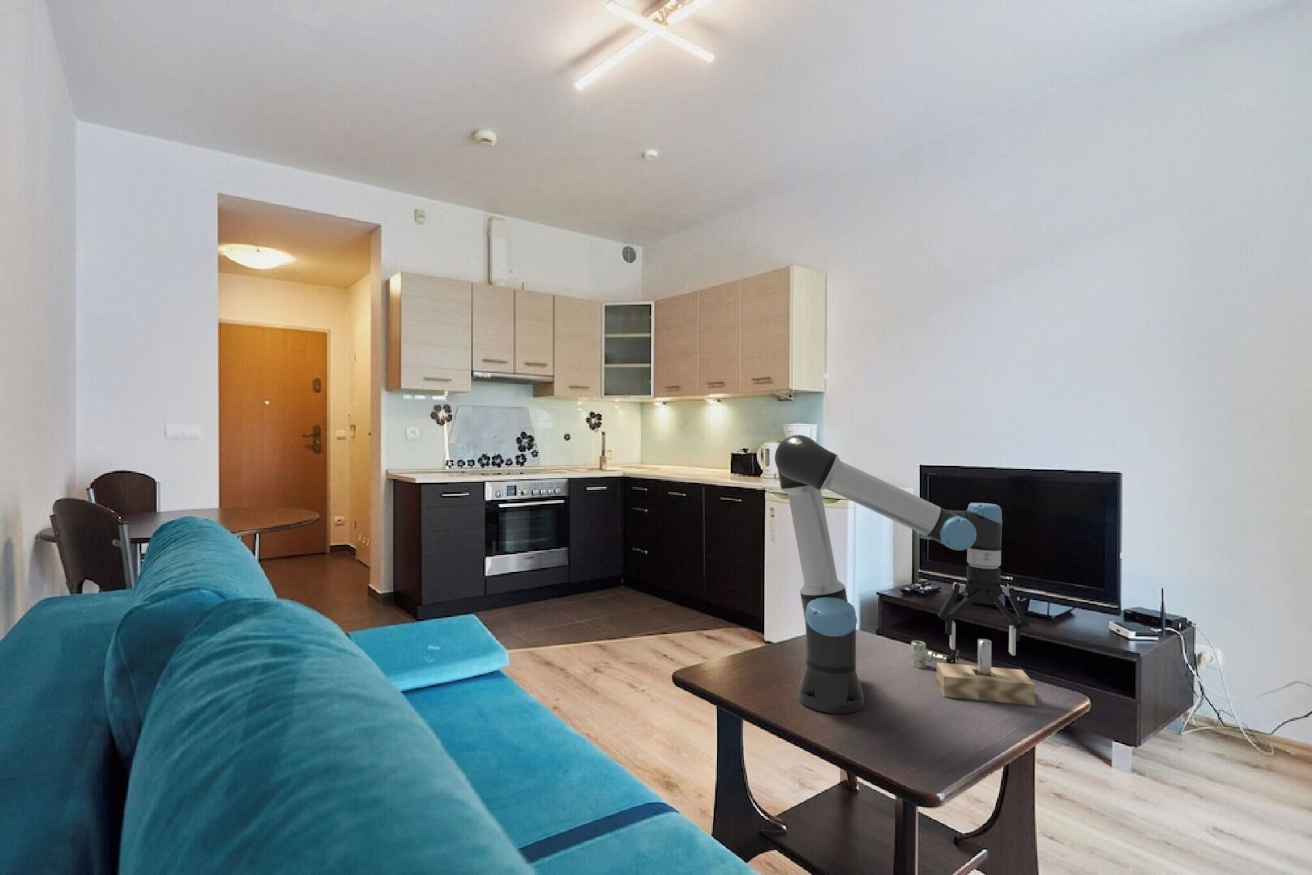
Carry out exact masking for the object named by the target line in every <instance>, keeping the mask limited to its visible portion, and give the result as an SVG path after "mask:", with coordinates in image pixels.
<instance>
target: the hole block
mask: <svg viewBox="0 0 1312 875" xmlns="http://www.w3.org/2000/svg"><path fill="white" fill-rule="evenodd" d="M936 683H937V685H938V687H939V689H940V692H941V693H942V695H943V697H944V698H954V699H964V700H965V699H966V700H972V701H973V700H974V701H985V702H993V703H994V702H996V703H1005V704H1006V703H1007V704H1016V705H1017V704H1018V705H1027V706H1036V684H1035V682H1034V681H1033V680H1032V679H1031V678H1030V677H1029V676H1028V675H1027V673H1026V672H1025V671H1024V670H1023V669H1017V668H1005V667H994V666H991V677H990V676H978V665H969V664H959V663H958V664H949V663H946V662H945V663H944V662H936Z"/></svg>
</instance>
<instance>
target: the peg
mask: <svg viewBox="0 0 1312 875" xmlns="http://www.w3.org/2000/svg"><path fill="white" fill-rule="evenodd" d="M977 666H978V676H990V677H991V667H992V640H991V639H986V638H978V639H977Z"/></svg>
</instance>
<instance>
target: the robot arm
mask: <svg viewBox="0 0 1312 875" xmlns="http://www.w3.org/2000/svg"><path fill="white" fill-rule="evenodd" d="M774 462H775V465H776V469H777V473H778V478H779V484H780V488H781V489H780V490H781V491H782V492H784V493H785V494H786V495H787V496H788V501H789V506H790V512H791V518H792V523H793V528H794V529H793V530H794V535H795V538H796V539H795V540H796V545H797V549H798V556H799V560H800V567H801V571H802V572H801V573H802V578H803V585H802V587H801V588H800V590H799V593H800V598H801V599H800V600H801V604H802V610H803V617H804V624H805V669H804V671H803V673H802V676H801V680H800V682H799V686H798V690H797V691H798V693H797V694H798V696H797V698H798V700H799V702H800V703H801V704H802V705H804V706H806V707H807V708H809V709H812V710H815V711H819V712H823V713H828V714H841V715H842V714H850V713H851V714H852V713H855V712H858V711H859V710H861V709H862V708H863V707H864V703H865V702H864V693H863V690H862V685H861V683H860V680H859V677H858V674H857V662H856V661H857V631H856V630H857V623H858V618H857V613H856V612H857V610H856V609H855V607H854V605H853V604H852V603H850V602H849V601H848V596H847V591H846V585H845V584H844V583H842V581H840V580H839V579H838V575H837V570H836V565H835V564H836V563H835V560H834V554H833V547H832V543H831V538H830V532H829V526H828V521H827V516H826V511H825V505H824V500H823V493H822V491H824V490H828V491H831V492H832V493H835V494H836V495H839V496H840V497H843V498H845V499H848V500H850V501H851V502H854V503H856V504H858V505H860V506H861V507H864V508H866V509H869V510H871V511H873V512H875V513H877V514H879V515H881V516H883V517H885V518H888V519H890V520H892V521H894V522H896V523H898V524H901V525H902V526H905V527H907V528H909V529H911V530H913V531H916V534H917V536H918V537H919V538H920V539H925V540H930V541H931V540H934V541H935V542H939V544H942V545H944V546H945V547H947V548H949V549H951V550H953V551H965V550H966V551H967V552H966V554H967V555H966V556H967V557H966V563H968V565H967V566H966V582H965V584H963V583H958V582H956V581H954V582H953V583H952V587H951V590H950V593H949V594H948V596H947V597H946V599H945V601H944V602H943V604H942V606H941V608H940V609H939V611H938V613H937V616H938V618H939V619H941V620H943V621H945V634H946V635H948V636H949V647H950V649H951V650H952V651H953V650H955V649H956V622H955V620H956V619H957V618H958V616H960V615H961V614H962V613H963V612H964V611H965V610H966V609H967V608H968V607H969V606H970V605H972V604H973V603H976V604H985V605H991V604H995V605H996V607H998V610H1000V611H1001V612H1002V613H1003V615H1004V616H1005V617H1006V618H1007V619H1008V620H1009V622H1010V623H1011V624H1012V625H1009V628H1008V629H1009V630H1008V653H1009V654H1010V655H1011V656H1016V651H1017V650H1016V649H1017V648H1016V647H1017V645H1016V642H1020V641H1021V630H1022V629H1023V628H1024V627H1025V628H1026V627H1027V628H1028V627H1029V626H1030V622H1029V620H1028V619H1027V617H1026V615H1025V612H1024V611H1023V609H1022V607H1021V605H1020V603H1019V601H1018V599H1017V597H1016V589H1015V588H1014V587H1012V585H1008V586H1005V587H1003V586H1001V584H1002V583H1001V574H1002V573H1001V572H1002V570H1001V568H1000V566H1001V565H1002V534H1003V533H1002V531H1003V530H1002V529H1003V528H1002V527H1003V516H1002V514H1003V513H1002V507H1000V506H999V505H998V504H994V503H986V502H985V503H984V502H970V503H969V504H968V506H967V509H966V510H954V509H953V510H951V509H945V508H943V507H941V506H940V505H939V506H938V505H936V504H934V503H933V502H930V501H928V500H925V499H924V498H922V497H919V496H918V495H915V494H912V493H910V492H909V491H907V490H904V489H902V488H900V487H897V486H895V485H893V484H891V483H889V482H886V481H884V479H881V478H878V477H877V476H874V475H872V474H869V473H867V472H865V471H863V470H861V469H859V468H858V467H857V468H856V467H855V466H853V465H850V464H849V463H846V462H843V461H841V459H840V458H839V455H838V454H836V453H834V452H832V451H830V450H828V449H827V448H825V447H823V446H822V445H820V444H819V443H818V442H816V441H815V440H814V439H813V438H811V437H808V436H806V435H802V434H798V435H797V434H795V435H794V434H793V435H791V436H787V437H786V438H784V439H782V441H781V442H780V443H779V444H778V446H777V448H776V450H775V452H774ZM963 590H965V591H966V593H967V594H966V595H965V596H964V597H963V599H962V600H960V602H959V603H957V604H956V605H955V606H954V608H953V609H952V607H953V604H954V603H955V601H956V600H957V598H958V596H959V593H962V591H963ZM1002 593H1004V595H1005V596H1007V597H1008V600H1009V602H1010V604H1011V605H1012V607H1013V609H1014V611H1015V613H1016V615H1017V618H1018V619H1019V620H1017V619H1016V618H1015V617H1014V616H1013V614H1012V613H1011V612H1010V611H1009V610H1008V608H1007V607H1006V606H1005V605H1004V604H1003V602H1002V601H1001V599H999V597H1000V596H1001V595H1002ZM949 611H950V612H949Z"/></svg>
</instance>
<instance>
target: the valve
mask: <svg viewBox="0 0 1312 875" xmlns="http://www.w3.org/2000/svg"><path fill="white" fill-rule="evenodd" d="M910 644H911V646H910V647H911V650H910V653H909V654H910V658H911V663H910V664H911V666H912V667H913V668H917V669H924V668H927V666H926V665H927V664H926V663H927V662H928V663H933V662H935V661H937V663H944V662H945V663H949V664H959V661H960V656H959V654H960V650H959V649H957V648H955V650H953V649H952V652H953V653H951V654H950V655H947V656H946V657H944V655H943V654H942V655H941V654H937V655H936V653H934V651H933V650H928V651H926V650H927V646H926V645H927V644H926V643H925V642H924V641H921V640H912V641H911V643H910ZM926 661H927V662H926Z"/></svg>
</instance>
